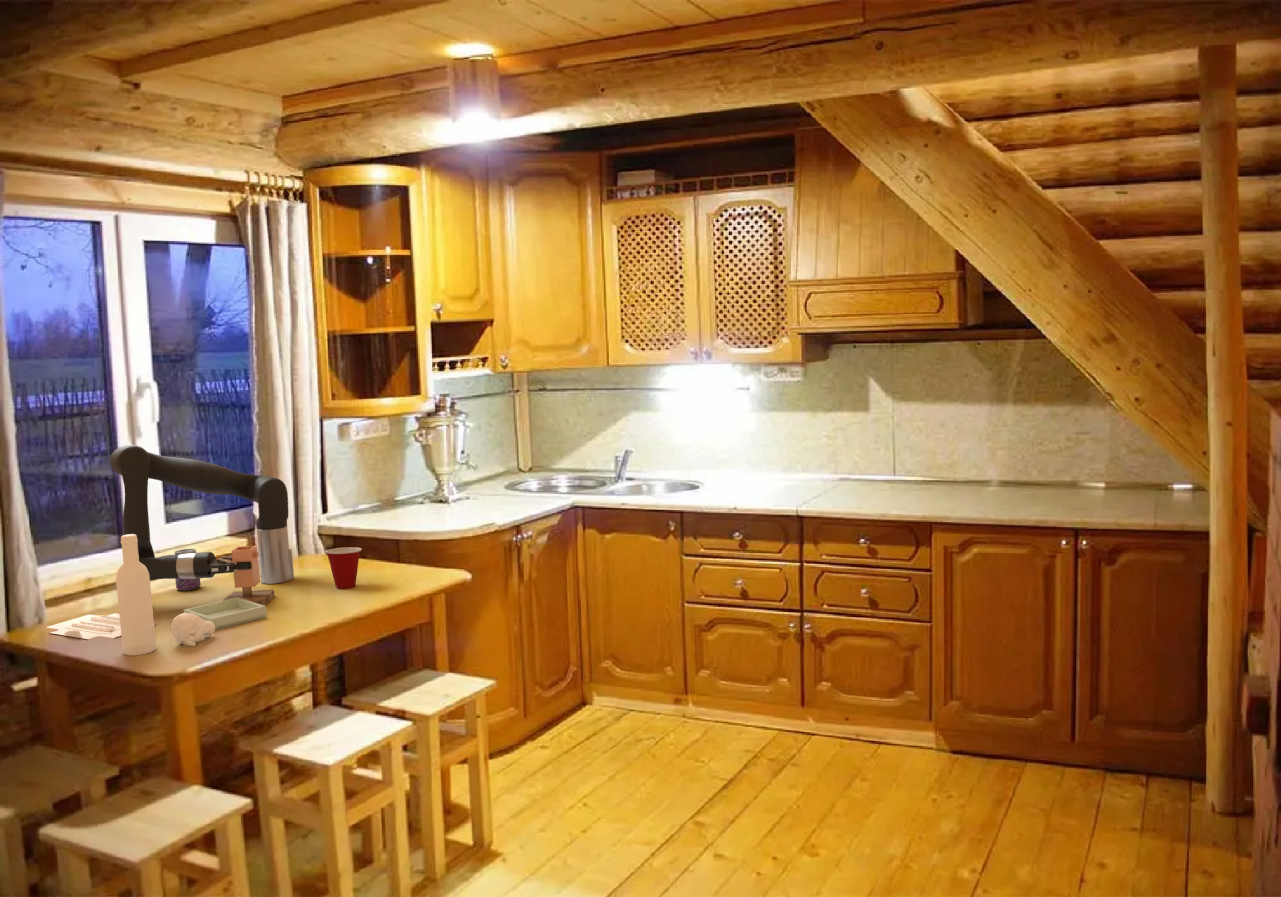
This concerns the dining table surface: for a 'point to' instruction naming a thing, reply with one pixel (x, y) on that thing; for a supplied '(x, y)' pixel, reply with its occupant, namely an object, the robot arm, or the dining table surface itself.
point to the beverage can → (187, 583)
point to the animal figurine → (190, 628)
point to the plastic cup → (344, 566)
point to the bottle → (134, 601)
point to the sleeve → (250, 575)
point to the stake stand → (253, 595)
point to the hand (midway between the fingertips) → (254, 562)
